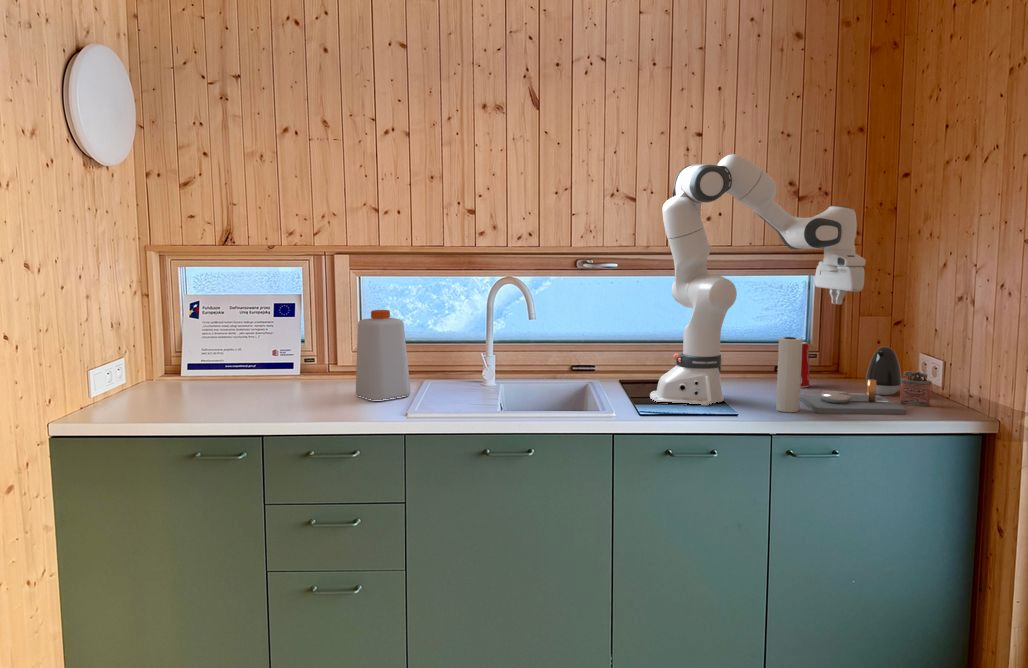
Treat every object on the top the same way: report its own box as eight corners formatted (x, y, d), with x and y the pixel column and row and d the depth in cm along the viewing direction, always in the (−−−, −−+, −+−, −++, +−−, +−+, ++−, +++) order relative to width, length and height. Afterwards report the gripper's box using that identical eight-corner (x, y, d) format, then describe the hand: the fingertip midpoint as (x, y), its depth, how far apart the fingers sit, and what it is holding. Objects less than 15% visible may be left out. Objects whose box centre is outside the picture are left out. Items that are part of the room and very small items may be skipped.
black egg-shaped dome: (859, 393, 230) (861, 346, 227) (872, 388, 236) (875, 343, 234) (892, 398, 222) (895, 350, 220) (905, 393, 229) (909, 346, 227)
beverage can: (810, 388, 237) (813, 343, 235) (790, 388, 239) (792, 343, 237) (807, 384, 243) (809, 341, 241) (787, 384, 244) (788, 340, 242)
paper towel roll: (778, 412, 206) (781, 339, 203) (773, 407, 212) (776, 336, 209) (804, 413, 205) (808, 339, 202) (799, 408, 211) (802, 336, 208)
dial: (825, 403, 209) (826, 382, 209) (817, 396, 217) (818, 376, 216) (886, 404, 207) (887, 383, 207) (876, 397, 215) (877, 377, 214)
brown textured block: (930, 404, 214) (932, 371, 212) (929, 407, 211) (932, 373, 209) (899, 402, 218) (901, 369, 216) (898, 404, 215) (900, 371, 213)
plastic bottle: (373, 404, 222) (370, 314, 218) (351, 395, 234) (347, 310, 230) (415, 396, 232) (413, 310, 228) (392, 389, 243) (389, 307, 239)
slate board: (817, 413, 205) (817, 407, 205) (797, 399, 223) (798, 394, 222) (904, 414, 203) (905, 408, 203) (878, 399, 221) (878, 394, 220)
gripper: (810, 258, 230) (808, 301, 232) (850, 260, 210) (847, 307, 212) (828, 258, 231) (826, 300, 233) (869, 260, 211) (866, 306, 213)
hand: (836, 304), depth 223 cm, fingers closed
